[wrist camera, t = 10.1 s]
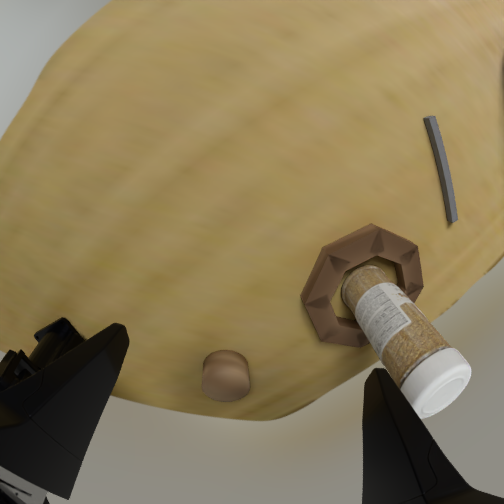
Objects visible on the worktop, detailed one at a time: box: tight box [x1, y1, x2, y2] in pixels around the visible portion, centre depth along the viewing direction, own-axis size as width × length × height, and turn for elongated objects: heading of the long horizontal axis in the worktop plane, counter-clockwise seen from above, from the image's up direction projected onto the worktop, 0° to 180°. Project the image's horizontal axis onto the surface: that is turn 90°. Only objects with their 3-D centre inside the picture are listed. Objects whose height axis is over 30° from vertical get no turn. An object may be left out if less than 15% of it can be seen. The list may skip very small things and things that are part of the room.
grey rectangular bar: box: [424, 116, 458, 223], centre depth 20 cm, size 10×1×1 cm, turn 26°
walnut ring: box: [300, 224, 424, 348], centre depth 23 cm, size 11×11×2 cm
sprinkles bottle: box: [342, 265, 472, 419], centre depth 18 cm, size 5×5×14 cm
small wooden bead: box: [202, 350, 250, 402], centre depth 25 cm, size 4×4×3 cm
